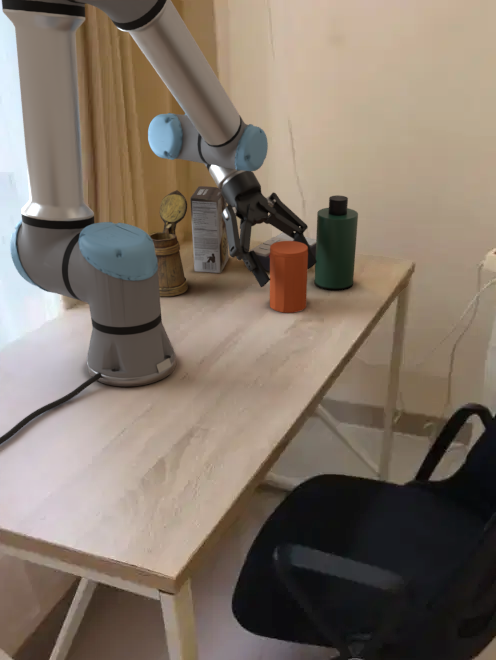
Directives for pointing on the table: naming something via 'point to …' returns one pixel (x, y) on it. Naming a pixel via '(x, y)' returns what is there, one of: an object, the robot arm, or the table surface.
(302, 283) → the cap
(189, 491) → the table surface
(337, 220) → the flask
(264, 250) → the red and grey box
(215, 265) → the coffee box
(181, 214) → the wooden mug
